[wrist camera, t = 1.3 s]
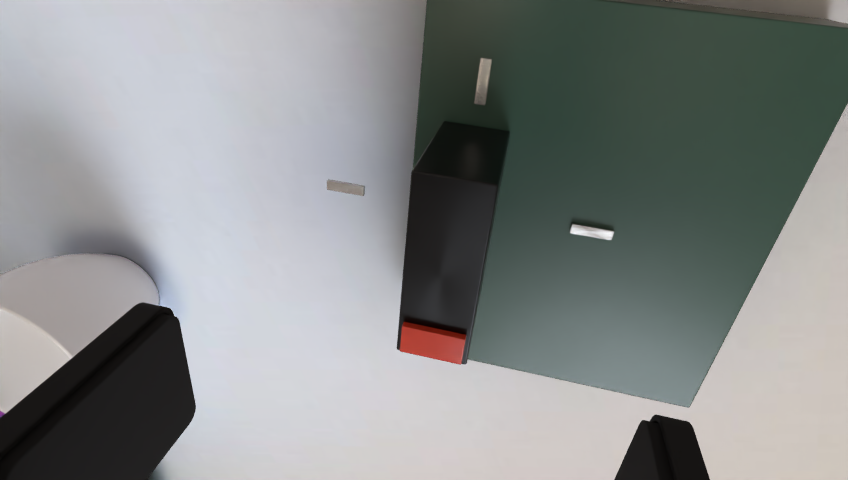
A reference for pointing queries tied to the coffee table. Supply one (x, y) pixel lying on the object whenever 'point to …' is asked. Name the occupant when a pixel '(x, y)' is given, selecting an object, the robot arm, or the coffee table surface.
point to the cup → (61, 313)
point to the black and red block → (449, 239)
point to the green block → (629, 172)
